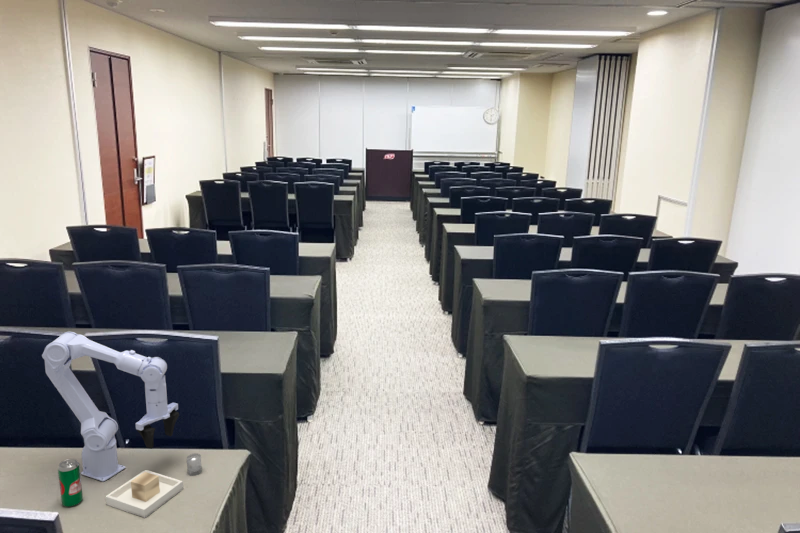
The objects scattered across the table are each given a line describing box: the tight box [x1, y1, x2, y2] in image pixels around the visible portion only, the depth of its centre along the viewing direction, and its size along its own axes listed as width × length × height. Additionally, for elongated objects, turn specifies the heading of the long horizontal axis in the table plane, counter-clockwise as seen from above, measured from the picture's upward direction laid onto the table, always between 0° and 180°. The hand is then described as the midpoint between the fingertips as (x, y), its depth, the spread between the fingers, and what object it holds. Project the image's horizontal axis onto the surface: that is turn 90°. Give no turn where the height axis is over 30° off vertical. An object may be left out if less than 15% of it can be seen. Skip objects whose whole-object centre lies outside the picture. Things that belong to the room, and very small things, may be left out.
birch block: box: [131, 472, 160, 502], centre depth 156 cm, size 5×5×5 cm
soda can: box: [57, 458, 84, 508], centre depth 152 cm, size 5×5×12 cm
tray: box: [104, 469, 184, 519], centre depth 157 cm, size 14×14×2 cm
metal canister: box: [186, 453, 202, 477], centre depth 169 cm, size 4×4×5 cm
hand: (159, 441), depth 168 cm, fingers open, 7 cm apart
